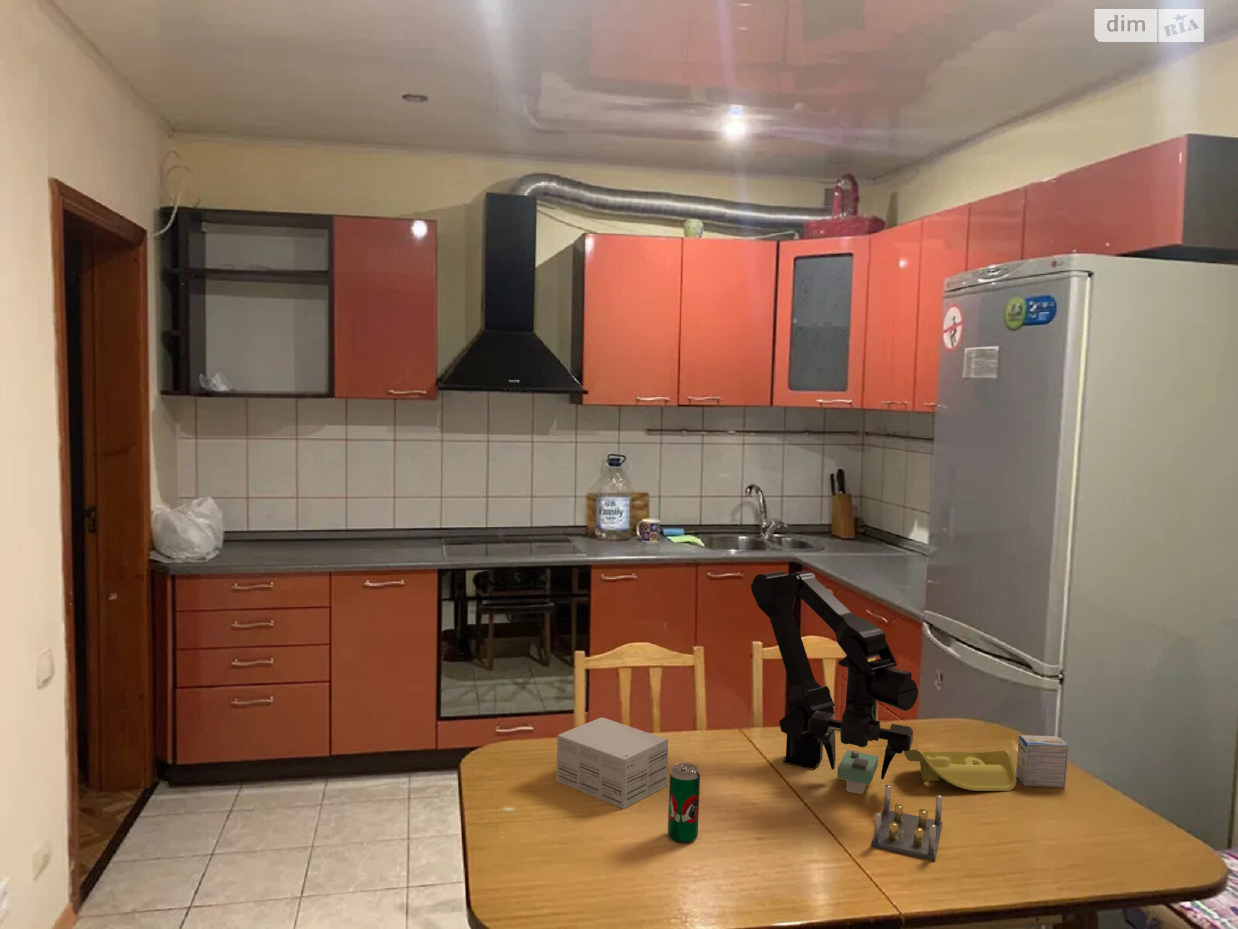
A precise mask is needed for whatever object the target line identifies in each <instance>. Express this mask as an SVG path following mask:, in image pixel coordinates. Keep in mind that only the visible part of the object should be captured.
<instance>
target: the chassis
mask: <svg viewBox="0 0 1238 929" xmlns="http://www.w3.org/2000/svg"><path fill="white" fill-rule="evenodd" d="M884 786H885V787H884V799H883V800H884V801H883V802H884V803H883V809H882V812H879V811H876V812H874V826H873V827H874V829H873V837H872V839H871V847H872V848H876V849H881V850H886V851H889V852H894V853H899V854H903V855H907V856H912V857H915V858H921V859H924V860H927V861H928V860H929V861H932V862H933V861H934V862H936V859H937V854H938V847H939V844H940V839H941V834H942V828H943V821H942V810H943V795H940V794H937V795H936V798H935V812H934V813H935V814H934V819H932V818H929V817H928V810H926V809H924V808H923V809H922V808H920V809H918V815H914V814H909V813H904V805H903V804H900V803H896V804H895V805H894V810H891V794H892V785H890V784H885V785H884Z"/></svg>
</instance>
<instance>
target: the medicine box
mask: <svg viewBox="0 0 1238 929" xmlns="http://www.w3.org/2000/svg"><path fill="white" fill-rule="evenodd" d="M1017 741H1018V742H1017V756H1016V758H1017V760H1016V767H1015V768H1016V771H1015V774H1016V779H1018V780H1019V782H1020V783H1021V784H1022V785H1023V786H1025V787H1045V788H1047V787H1050V788H1066V783H1067V782H1066V781H1067V769H1068V760H1069V758H1068V757H1069V749H1070V746H1069V745H1068V744H1067V743H1066V742H1065V741H1064V740H1063V739H1062V738H1060V737H1059V736H1053V735H1052V736H1051V735H1032V734H1030V735H1029V734H1028V735H1026V734H1025V735H1023V734H1020V735H1018V740H1017Z"/></svg>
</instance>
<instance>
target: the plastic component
mask: <svg viewBox="0 0 1238 929" xmlns="http://www.w3.org/2000/svg"><path fill="white" fill-rule="evenodd" d="M902 753H903V754H904V756H905V758H906V759H907V761H909V762H919V765H920V766H919V767H920V773H921V780H922V782H934V781H935V782H941V780H944V781H945V782H947V783H948V784H951V785H953V786H955V787H958V788H960V789H963V790H968V791H972V792H973V791H975V792H977V791H978V792H979V791H981V792H982V791H983V792H985V791H987V792H990V791H991V792H992V791H993V792H995V791H997V792H998V791H1001V792H1002V791H1007V792H1008V791H1012V790H1013V789H1014V788H1015V787H1016V784H1017V776H1016V771H1015V767H1014V764H1013V759H1012V756H1011V755H1012V754H1011V753H1010V751H1008V750H997V751H988V752H986V751H985V752H965V751H964V752H962V751H961V752H956V751H955V752H954V751H953V752H951V751H947V752H946V751H945V752H943V751H922V750H920V749H910V751H903V752H902Z"/></svg>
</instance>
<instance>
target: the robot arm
mask: <svg viewBox="0 0 1238 929" xmlns="http://www.w3.org/2000/svg"><path fill="white" fill-rule="evenodd" d="M750 589H751V593H752V595H753V599H754V600H755V603H756V605H757V606H758V608H759V609H760V610H761V611H762V612H763V613H764V614H765V615H766V616H767V617H768V618H769V621H770V624H771V628H772V630H773V634H774V637H775V640H776V643H777V646H778V650H779V653H780V656H781V660H782V662H783V664H784V668H785V671H786V675H787V679H788V681H789V684H790V690H789V696H788V701H787V703H788V709H789V712H788V713H787V714H786V715H785V716H783V717H782V718H781V719H780V720H779V728H780V732H781V733H783V734H785V735H786V741H785V742H786V745H785V746H786V747H785V757H784V758H783V761H782V762H783V763H784V764H788V765H792V766H797V767H801V768H808V769H812V770H816V769H817V766H818V765H819V764H820V763H821V762H822V760H823V756H824V755H823V753H824V748H825V752H826V755H827V758H828V762H829V766H830V769H831V770H833V771H834V770H835V767H836V731H837V732H840V737H839V738H840V742H841V744H844V745H853V746H857V747H858V748H866V747H867V746H868V743H869V742H873V741H876V742H878V741H879V740H886V741H887V744H886V747H885V751H884V758H883V762H882V767H881V773H880V775H881V777H880V779H881V780H884V779H885V777H886V773H887V772H888V769H889V767H890V764H891V762H892V760H893V759H894V757H895V755H896V754H899V755H900V754H903V753H904V752H903V751H910V750H911V748H912V744H913V740H914V730H913V729H912V727H911V726H909V725H908V726H907V725H902V724H896V723H891V725H890V727H889V728H882V727H881V722H880V720H877V713H878V702H880V703H881V704H882V703H883V704H885V705H888V706H891V707H893V708H895V709H898V710H901V711H905V712H907V711H909V710H911V709H912V708H913V707H914V705H915V704H916V702H917V700H918V696H919V695H918V694H919V689H918V685H917V683H916V681H915V680H914V679H912V678H913V677H912V674H913V673H912V672H911V671H907V670H902V669H899V668H896V667H897V666H898V663H897V661H896V659H895V657H894V654H893V652H892V650H891V648H890V646H889V644H888V642H887V640H886V638H887V636H886V635H885V633H884V631H883V630H882V629H880V627H878V626H877V625H875V624H874V623H872V622H871V621H869V620H868V619H865V618H862V617H859V616H858V615H855V614H854V613H852V612H851V611H850V610H849V609H848V608H847V607H846V606H845V605H844V604H843V603H842V602H841V601H839V599H838V598H836V597H835V595H833V593H831V592H830V591H829V590H828V588H826V587H825V586H824V585H823V584H822V583H821V582H820V581H819V580H818V579H817V577H816V575H815V574H814V573H813V572H811V571H809V570H804V571H803V570H802V571H796V572H791V573H790V574H789V573H786V572H785V571H782V570H779V571H772V572H766V573H759V574H756V576H755V577H754V578H753V579H752V583H751V584H750ZM796 595H797V596H798V597H799V598H800V599H801V600H802V601H803V602H804V603H805V604H806V605H807V606H808V607H809V608H810V609H811V610H812V611H813V612H814V613H815V614H816V616H818V617H819V618H820V619H821V620H822V621H823V622H824V623H825V624H826V625H827V626H828V627H829V628H830V629H831V630H832V631H833V633H834V634H835V638H836V642H837V645H838V646H839V647H840V649H841V650H842V651H843V652H844V654H845V657H844V658H842V659H841V660H839V661H838V665H839V666H841V667H844V668H847V676H846V691H845V694H846V695H845V708H844V711H843V714H842V717H841V718H842V719H841V720H837V719H835V707H836V704H835V703H834V701H833V698H832V696H831V690H830V688H829V687H828V685H823V686H822V685H820V684H819V683H818V682H817V680H816V679H815V676H814V673H813V671H812V668H811V663H810V661H809V658H808V654H807V651H806V649H805V645H804V642H803V638H802V636H801V633H800V630H799V627H798V624H797V621H796V618H795V614H794V606H795V602H796V601H795V600H796ZM875 658H879V659H875ZM870 659H874V660H871V661H869V660H870Z"/></svg>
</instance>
